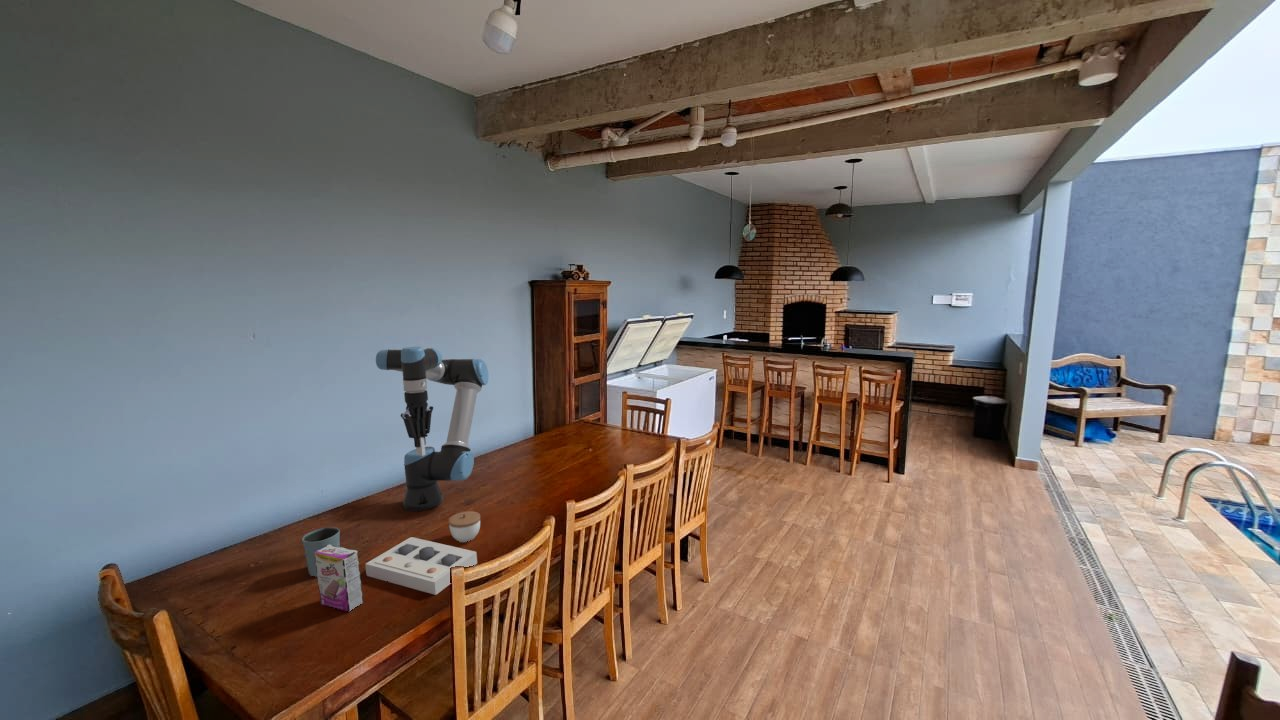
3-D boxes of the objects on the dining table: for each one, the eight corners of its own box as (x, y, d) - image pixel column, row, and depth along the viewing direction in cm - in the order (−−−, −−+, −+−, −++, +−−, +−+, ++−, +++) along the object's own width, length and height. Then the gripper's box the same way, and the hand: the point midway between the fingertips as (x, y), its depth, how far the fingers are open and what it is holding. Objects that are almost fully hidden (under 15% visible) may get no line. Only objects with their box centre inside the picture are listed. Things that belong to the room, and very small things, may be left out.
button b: (427, 554, 164) (426, 545, 164) (437, 556, 163) (436, 548, 162) (416, 561, 160) (415, 552, 160) (427, 563, 158) (426, 554, 158)
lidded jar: (471, 547, 173) (469, 521, 172) (443, 544, 175) (441, 519, 174) (487, 532, 184) (485, 508, 182) (460, 529, 186) (458, 505, 184)
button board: (412, 547, 173) (410, 535, 173) (477, 563, 163) (476, 550, 162) (366, 575, 157) (365, 562, 156) (435, 595, 146) (434, 580, 146)
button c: (448, 562, 161) (448, 553, 161) (459, 565, 159) (459, 556, 159) (438, 569, 157) (437, 560, 156) (449, 572, 155) (449, 563, 155)
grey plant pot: (304, 581, 154) (299, 545, 152) (308, 565, 163) (304, 531, 161) (342, 572, 159) (338, 537, 157) (344, 557, 168) (340, 523, 166)
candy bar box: (319, 606, 142) (312, 552, 140) (335, 595, 147) (329, 543, 144) (349, 613, 139) (343, 558, 136) (364, 603, 143) (358, 549, 141)
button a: (406, 552, 168) (405, 543, 167) (416, 554, 166) (415, 546, 166) (395, 558, 164) (395, 550, 163) (406, 561, 162) (405, 552, 162)
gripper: (409, 395, 170) (414, 462, 173) (437, 387, 182) (442, 450, 185) (392, 393, 172) (398, 459, 176) (421, 386, 184) (426, 448, 188)
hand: (421, 454), depth 181 cm, fingers closed
